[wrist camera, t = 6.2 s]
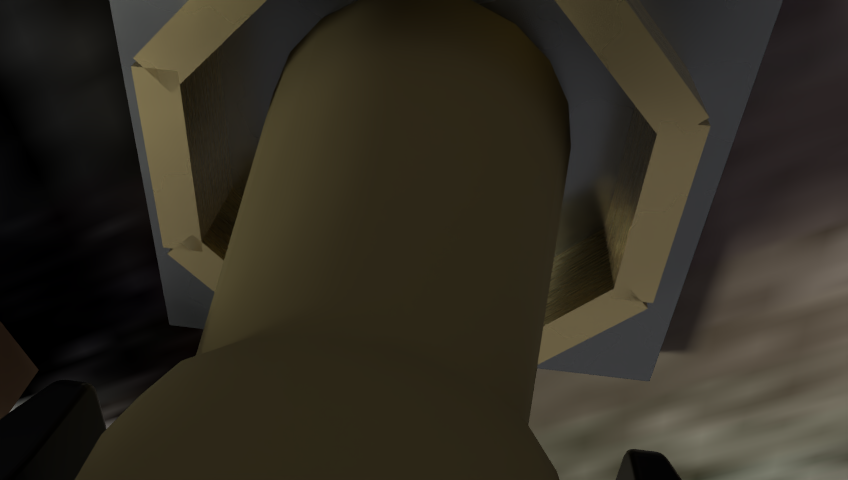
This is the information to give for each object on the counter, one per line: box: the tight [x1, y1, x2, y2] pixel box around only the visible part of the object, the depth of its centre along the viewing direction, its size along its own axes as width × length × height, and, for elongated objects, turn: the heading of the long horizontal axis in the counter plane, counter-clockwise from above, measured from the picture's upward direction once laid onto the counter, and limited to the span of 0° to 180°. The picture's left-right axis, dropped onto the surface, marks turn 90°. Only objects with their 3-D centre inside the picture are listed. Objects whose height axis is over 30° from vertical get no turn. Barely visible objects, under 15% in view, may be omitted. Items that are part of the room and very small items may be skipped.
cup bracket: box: [109, 0, 783, 381], centre depth 15 cm, size 12×12×3 cm
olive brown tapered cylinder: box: [75, 0, 571, 480], centre depth 11 cm, size 6×6×11 cm
